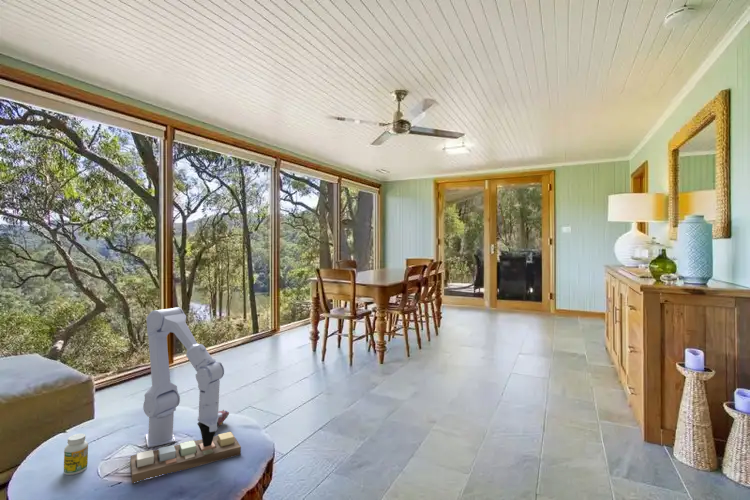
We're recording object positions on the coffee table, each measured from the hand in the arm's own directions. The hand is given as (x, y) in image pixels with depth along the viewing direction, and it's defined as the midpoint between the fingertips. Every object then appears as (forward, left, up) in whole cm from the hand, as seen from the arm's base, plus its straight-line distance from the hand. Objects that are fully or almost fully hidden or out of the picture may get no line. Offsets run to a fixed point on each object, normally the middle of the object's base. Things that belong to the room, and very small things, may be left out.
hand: (207, 445), depth 119 cm
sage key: (0, -6, -1) cm, 6 cm away
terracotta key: (0, 0, -3) cm, 3 cm away
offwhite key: (0, -17, -1) cm, 17 cm away
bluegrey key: (0, -11, -1) cm, 11 cm away
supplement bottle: (-10, -33, -3) cm, 35 cm away
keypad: (0, -6, -3) cm, 6 cm away
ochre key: (0, +6, -1) cm, 6 cm away
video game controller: (-18, +6, -3) cm, 19 cm away
